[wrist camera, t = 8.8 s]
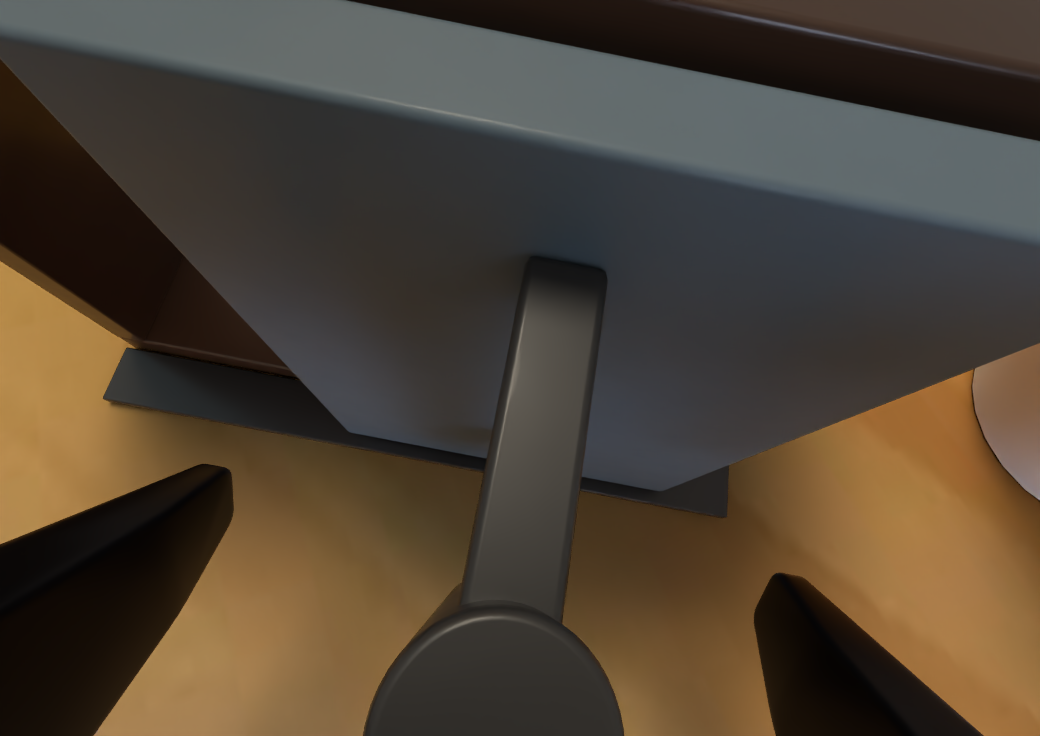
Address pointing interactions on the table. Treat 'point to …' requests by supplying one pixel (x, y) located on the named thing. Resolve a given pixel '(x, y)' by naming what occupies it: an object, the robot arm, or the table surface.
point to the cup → (1012, 413)
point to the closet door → (541, 270)
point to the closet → (516, 10)
